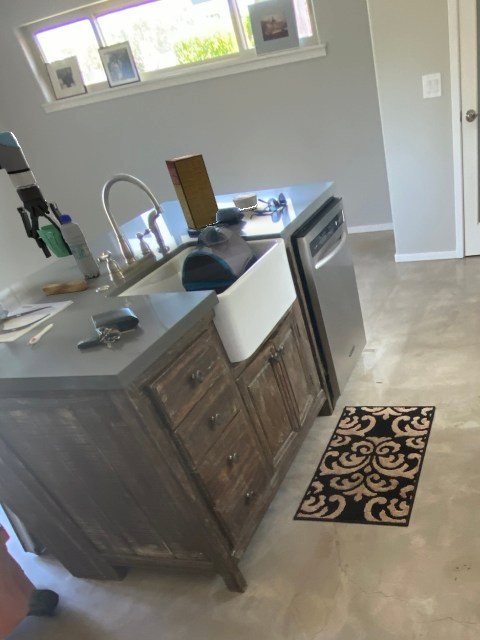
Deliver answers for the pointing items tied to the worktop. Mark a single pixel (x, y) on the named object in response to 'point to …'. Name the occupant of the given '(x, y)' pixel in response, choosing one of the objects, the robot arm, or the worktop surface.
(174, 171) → the food packaging
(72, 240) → the bottle
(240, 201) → the ramekin
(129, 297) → the worktop surface
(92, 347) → the worktop surface
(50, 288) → the stick
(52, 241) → the mug
